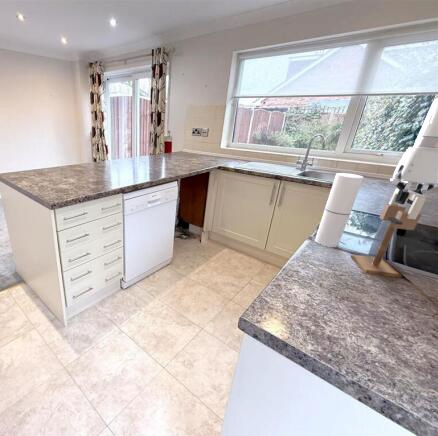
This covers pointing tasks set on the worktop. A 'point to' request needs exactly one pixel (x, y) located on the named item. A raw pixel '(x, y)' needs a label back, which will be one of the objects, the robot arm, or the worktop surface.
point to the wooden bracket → (399, 211)
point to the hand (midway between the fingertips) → (405, 203)
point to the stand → (380, 255)
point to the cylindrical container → (338, 209)
